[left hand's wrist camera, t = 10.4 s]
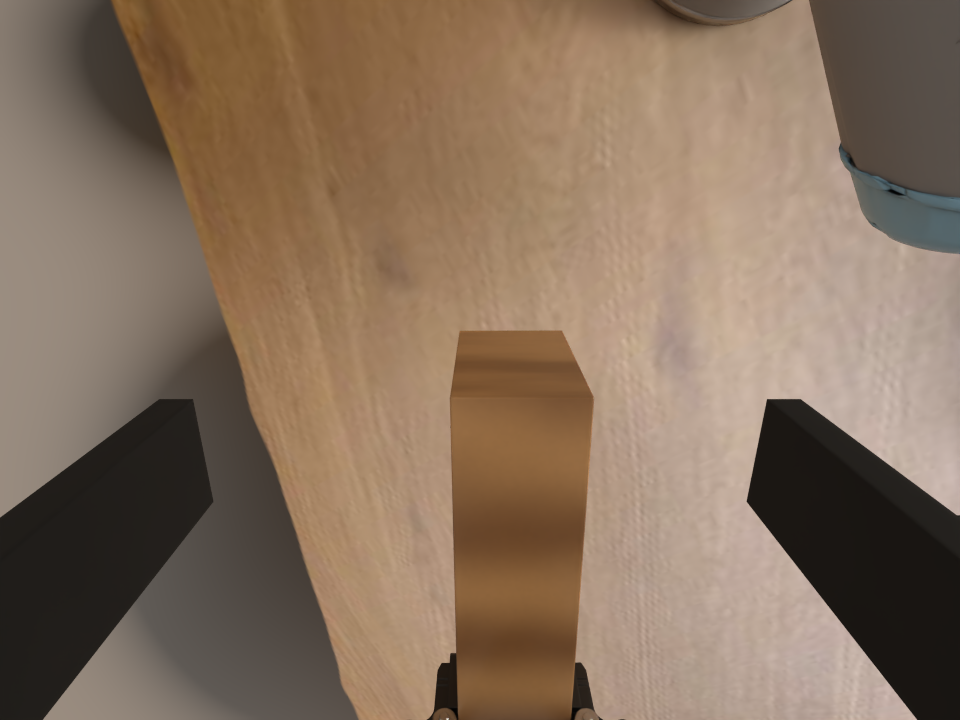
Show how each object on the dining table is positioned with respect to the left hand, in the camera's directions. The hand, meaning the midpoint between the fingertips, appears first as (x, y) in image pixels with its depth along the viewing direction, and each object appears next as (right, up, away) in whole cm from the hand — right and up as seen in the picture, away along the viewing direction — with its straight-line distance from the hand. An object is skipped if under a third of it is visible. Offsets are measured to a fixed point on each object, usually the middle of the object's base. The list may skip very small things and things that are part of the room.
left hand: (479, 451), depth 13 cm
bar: (+2, -7, +22) cm, 24 cm away
